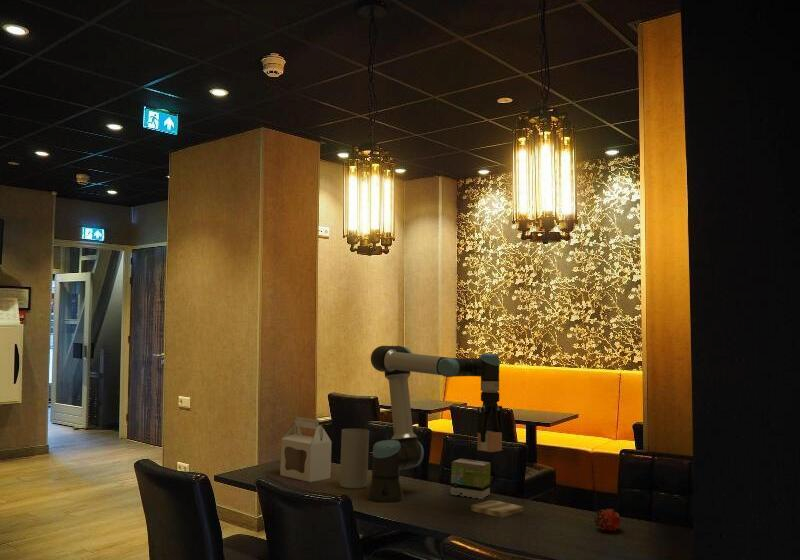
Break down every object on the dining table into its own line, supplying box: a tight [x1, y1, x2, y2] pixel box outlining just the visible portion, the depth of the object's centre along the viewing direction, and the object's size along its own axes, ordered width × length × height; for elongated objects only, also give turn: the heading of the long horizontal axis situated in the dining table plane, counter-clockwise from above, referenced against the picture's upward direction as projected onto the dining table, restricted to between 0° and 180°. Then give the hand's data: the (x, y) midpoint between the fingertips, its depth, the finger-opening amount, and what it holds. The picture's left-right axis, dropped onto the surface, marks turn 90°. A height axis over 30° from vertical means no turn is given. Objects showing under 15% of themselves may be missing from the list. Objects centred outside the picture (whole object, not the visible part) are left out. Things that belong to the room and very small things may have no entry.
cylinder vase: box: [339, 428, 370, 490], centre depth 307 cm, size 12×12×25 cm
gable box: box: [279, 416, 333, 483], centre depth 325 cm, size 22×13×28 cm, turn 49°
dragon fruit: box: [594, 508, 622, 533], centre depth 244 cm, size 8×8×12 cm
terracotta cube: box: [477, 430, 503, 453], centre depth 271 cm, size 7×7×7 cm
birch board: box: [470, 499, 525, 519], centre depth 268 cm, size 15×15×2 cm
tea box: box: [450, 458, 492, 500], centre depth 295 cm, size 15×10×15 cm, turn 62°
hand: (490, 449), depth 270 cm, fingers closed on terracotta cube, 7 cm apart
